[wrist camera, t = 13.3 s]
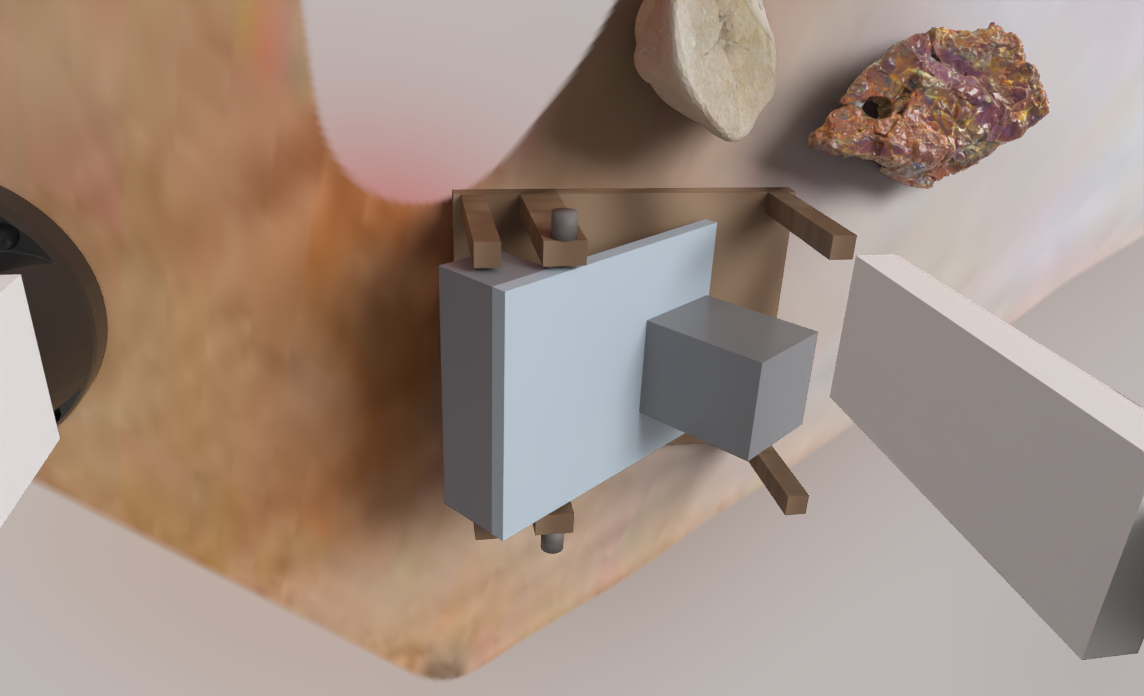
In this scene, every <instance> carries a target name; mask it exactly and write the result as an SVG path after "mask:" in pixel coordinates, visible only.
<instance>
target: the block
mask: <svg viewBox="0 0 1144 696" xmlns="http://www.w3.org/2000/svg"><path fill="white" fill-rule="evenodd" d="M817 336H818V332H817V331H814V330H811V329H808V328H805V327H802V326H799V325H796V324H793V323H790V322H787V321H784V320H781V319H778V318H775V317H772V316H768V315H765V314H762V313H759V312H756V311H753V310H750V309H747V308H744V307H741V306H738V305H735V304H732V303H729V302H726V301H723V300H720V299H717V298H714V297H711V296H708V295H706V296H703V297H701V298H698V299H696V300H694V301H691V302H689V303H687V304H684V305H682V306H679V307H677V308H675V309H672V310H670V311H668V312H665V313H663V314H661V315H658V316H656V317H653V318H651V319H649V320H647V324H646V336H645V348H644V360H643V372H642V384H641V396H640V408H639V412H640V413H642V414H644V415H647V416H649V417H651V418H653V419H655V420H658V421H660V422H662V423H664V424H666V425H669V426H671V427H673V428H675V429H678V430H680V431H682V432H684V433H686V434H689V435H691V436H693V437H695V438H697V439H700V440H702V441H704V442H706V443H708V444H711V445H713V446H715V447H717V448H719V449H722V450H724V451H726V452H728V453H730V454H733V455H735V456H737V457H739V458H741V459H744V460H746V461H749V460H751V459H752V458H754V457H755V456H756V455H758V454H759V453H761V452H762V451H764V450H765V449H767V448H768V447H770V446H771V445H772V444H774V443H775V442H777V441H778V440H780V439H781V438H783V437H784V436H786V435H787V434H788V433H790V432H791V431H793V430H794V429H796V428H797V427H799V426H800V425H801V424H802V422H803V416H804V410H805V405H806V399H807V393H808V387H809V382H810V376H811V370H812V364H813V359H814V353H815V347H816V341H817Z"/></svg>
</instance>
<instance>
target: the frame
mask: <svg viewBox="0 0 1144 696" xmlns="http://www.w3.org/2000/svg"><path fill="white" fill-rule="evenodd" d="M452 211H453V261H457V260H460V259H464V258H468V257H471V258H472V262H473V266H474V268H501V251H503V252H506V253H509V254H511V255H514V256H517V257H520V258H523V259H525V260H528V261H531V262H534V263H537V264H540V265H542V266H543V267H548V268H553V267H556V266H587V257H588V256H591V255H594V254H597V253H600V252H603V251H607V250H610V249H613V248H616V247H619V246H622V245H625V244H629V243H632V242H635V241H638V240H641V239H644V238H648V237H651V236H654V235H657V234H660V233H663V232H666V231H670V230H673V229H676V228H679V227H682V226H685V225H689V224H692V223H695V222H698V221H701V220H704V219H706V220H710V221H714V222H717V229H716V237H715V246H714V255H713V264H712V273H711V281H710V290H709V296H711V297H714V298H717V299H720V300H723V301H726V302H729V303H732V304H735V305H738V306H741V307H744V308H747V309H750V310H753V311H756V312H759V313H762V314H765V315H768V316H772V317H775V318H777V312H778V305H779V299H780V292H781V285H782V279H783V272H784V265H785V259H786V252H787V245H788V239H789V232H790V231H791V232H792V233H793V234H795V235H796V236H798V237H799V238H800V239H802V240H803V241H804V242H806V243H807V244H808V245H810V246H811V247H813V248H814V249H815V250H817V251H818V252H819V253H821V254H822V255H823V256H825V257H826V258H828V259H829V260H846V259H853V254H854V249H855V243H856V238H857V235H856V234H854V233H852V232H851V231H849V230H848V229H846V228H845V227H843V226H841V225H840V224H838V223H837V222H835V221H834V220H832V219H830V218H829V217H827V216H826V215H824V214H823V213H821V212H819V211H818V210H816V209H815V208H813V207H812V206H810V205H808V204H807V203H805V202H804V201H802V200H801V199H799V198H797V197H796V196H795V191H793V190H791V189H790V188H644V189H499V190H452ZM691 443H706V442H704V441H702V440H700V439H697V438H695V437H693V436H691V435H689V434H686V433H684V434H683V435H681V436H679V437H678V438H676V439H674V440H672V441H671V442H669V443H667V444H666V445H675V444H691ZM749 463H750V464H751V466H752V467H753V469H754V470H755V472H756V473H757V475H758V476H759V477H760V479H761V480H762V482H763V483H764V485H765V486H766V488H767V489H768V491H769V492H770V494H771V495H772V496H773V498H774V499H775V501H776V502H777V504H778V505H779V507H780V508H781V510H782V511H783V513H784V514H785V515H794V514H805V513H806V508H807V503H808V498H809V495H808V493H807V492H806V491H805V490H804V488H803V487H802V486H801V484H800V483H799V482H798V480H797V479H796V477H795V476H794V475H793V473H792V472H791V471H790V469H789V468H788V467H787V465H786V464H785V463H784V461H783V460H782V459H781V457H780V456H779V455H778V453H777V452H776V451H775V449H774V448H773V447H772V445H771V446H770V447H768V448H767V449H765V450H764V451H762V452H761V453H759V454H758V455H756V456H755V457H754V458H752V459H751V460H749ZM473 523H474V522H473ZM573 524H574V512H573V509H572V505H571V502H568V503H566V504H565V505H563V506H561V507H560V508H558V509H556V510H554V511H553V512H551V513H549V514H548V515H546V516H544V517H543V518H541V519H539V520H538V521H536V522H534V523H533V527H534V532H535V535H541V549H542V550H543V551H544V552H546V553H550V554H554V553H558V552H560V551H562V549H563V542H564V533H571V532H573ZM474 531H475V538H476V540H484V539H496V538H497V537H496V536H494V535H493V534H491V533H490V532H488V531H486V530H485V529H483V528H482V527H480V526H479V525H477V524H476V523H474Z"/></svg>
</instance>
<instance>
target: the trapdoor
mask: <svg viewBox="0 0 1144 696" xmlns="http://www.w3.org/2000/svg"><path fill="white" fill-rule="evenodd" d="M716 229H717V222H714V221H710V220H706V219H704V220H701V221H698V222H695V223H692V224H689V225H685V226H682V227H679V228H676V229H673V230H670V231H666V232H663V233H660V234H657V235H654V236H651V237H648V238H644V239H641V240H638V241H635V242H632V243H629V244H625V245H622V246H619V247H616V248H613V249H610V250H607V251H603V252H600V253H597V254H594V255H591V256H588V257H587V266H556V267H553V268H548V267H543V266H542V265H540V264H537V263H534V262H531V261H528V260H525V259H523V258H520V257H517V256H514V255H511V254H509V253H506V252H503V251H501V268H474V266H473V262H472V258H471V257H468V258H464V259H460V260H457V261H453V262H450V263H446V264H442V265H439V300H440V341H441V382H442V422H443V463H444V503H445V504H446V505H448V506H449V507H451V508H452V509H454V510H456V511H457V512H459V513H460V514H462V515H463V516H465V517H466V518H468V519H469V520H471V521H473V522H474V523H476V524H477V525H479V526H480V527H482V528H483V529H485V530H486V531H488V532H490V533H491V534H493V535H494V536H496V537H497V538H499V539H500V540H502V541H504V540H506V539H507V538H509V537H511V536H512V535H514V534H516V533H517V532H519V531H521V530H522V529H524V528H526V527H528V526H529V525H531V524H533V523H534V522H536V521H538V520H539V519H541V518H543V517H544V516H546V515H548V514H549V513H551V512H553V511H554V510H556V509H558V508H560V507H561V506H563V505H565V504H566V503H568V502H570V501H571V500H573V499H575V498H576V497H578V496H580V495H581V494H583V493H585V492H587V491H588V490H590V489H592V488H593V487H595V486H597V485H598V484H600V483H602V482H603V481H605V480H607V479H608V478H610V477H612V476H613V475H615V474H617V473H619V472H620V471H622V470H624V469H625V468H627V467H629V466H630V465H632V464H634V463H635V462H637V461H639V460H640V459H642V458H644V457H646V456H647V455H649V454H651V453H652V452H654V451H656V450H657V449H659V448H661V447H662V446H664V445H666V444H667V443H669V442H671V441H672V440H674V439H676V438H678V437H679V436H681V435H683V434H684V432H682V431H680V430H678V429H675V428H673V427H671V426H669V425H666V424H664V423H662V422H660V421H658V420H655V419H653V418H651V417H649V416H647V415H644V414H642V413H640V412H639V408H640V396H641V384H642V372H643V360H644V348H645V336H646V324H647V320H649V319H651V318H653V317H656V316H658V315H661V314H663V313H665V312H668V311H670V310H672V309H675V308H677V307H679V306H682V305H684V304H687V303H689V302H691V301H694V300H696V299H698V298H701V297H703V296H706V295H708V296H709V290H710V281H711V273H712V264H713V255H714V246H715V237H716Z"/></svg>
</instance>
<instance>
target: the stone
mask: <svg viewBox="0 0 1144 696" xmlns="http://www.w3.org/2000/svg"><path fill="white" fill-rule="evenodd" d="M635 38H636V43H637V45H636V47H635V53H634V65H635V67H636V70H637V72H638V74H639V75H640V77H641V78H642V79H643V80H644V81H646V82H648V83H650V84H651V85H652V87H653V89H654V90H655V92H656V93H657V94H658V95H659V96H660V98H661V99H662V100H663V101H665V102H666V103H667V104H668V105H669V106H671V107H672V108H674V109H675V110H677V111H678V112H680V113H681V114H683V115H685V116H686V117H688V118H690V119H692V120H694V121H696V122H698V123H700V124H701V125H703V126H704V127H705V128H707V129H708V130H709V131H710V132H712V133H713V134H714V135H716V136H717V137H719V138H721V139H723V140H725V141H729V142H735V141H738V140H741V139H743V138H744V137H746V136H747V135H748V134H749V132H750V131H751V129H752V128H753V126H754V123H755V121H756V119H757V117H758V115H759V113H760V112H761V111H762V109H763V108H764V107H765V105H766V104H767V103H769V101H770V100H771V98H772V97H773V94H774V91H775V84H776V50H775V42H774V38H773V34H772V32H771V30H770V27H769V24H768V21H767V18H766V13H765V9H764V7H763V3H762V0H644V1H643V3H642V5H641V7H640V9H639V11H638V14H637V18H636V23H635Z"/></svg>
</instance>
